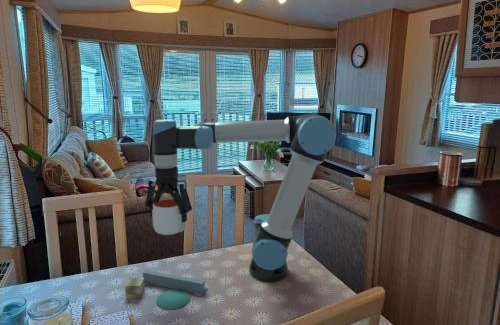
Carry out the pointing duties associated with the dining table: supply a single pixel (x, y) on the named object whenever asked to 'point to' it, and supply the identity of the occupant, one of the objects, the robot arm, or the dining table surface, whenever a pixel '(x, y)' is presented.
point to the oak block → (135, 288)
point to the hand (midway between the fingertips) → (169, 228)
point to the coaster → (173, 299)
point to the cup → (166, 217)
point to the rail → (175, 282)
